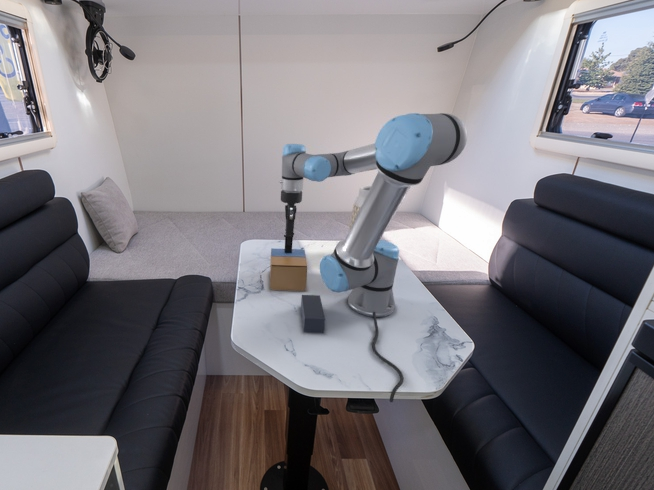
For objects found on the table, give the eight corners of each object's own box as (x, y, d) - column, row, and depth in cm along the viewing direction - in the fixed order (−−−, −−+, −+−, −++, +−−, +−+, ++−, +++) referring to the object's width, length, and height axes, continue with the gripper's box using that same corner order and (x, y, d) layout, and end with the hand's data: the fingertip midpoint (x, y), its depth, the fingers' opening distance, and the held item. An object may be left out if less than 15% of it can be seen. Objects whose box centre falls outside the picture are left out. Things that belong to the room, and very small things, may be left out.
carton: (270, 271, 149) (271, 248, 145) (302, 272, 149) (304, 249, 144) (269, 289, 136) (270, 264, 131) (305, 291, 135) (307, 265, 131)
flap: (271, 249, 145) (271, 248, 145) (304, 250, 144) (304, 249, 144) (271, 256, 138) (271, 255, 138) (305, 257, 138) (305, 256, 138)
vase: (356, 266, 155) (367, 193, 142) (338, 254, 166) (347, 185, 153) (383, 262, 160) (396, 191, 146) (364, 250, 171) (374, 183, 158)
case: (323, 332, 112) (325, 318, 110) (303, 332, 112) (304, 318, 110) (318, 308, 125) (319, 295, 123) (300, 307, 125) (301, 294, 123)
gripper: (280, 185, 136) (278, 245, 147) (281, 194, 125) (278, 258, 135) (301, 186, 136) (297, 245, 147) (303, 195, 125) (299, 259, 135)
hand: (288, 252), depth 141 cm, fingers closed
